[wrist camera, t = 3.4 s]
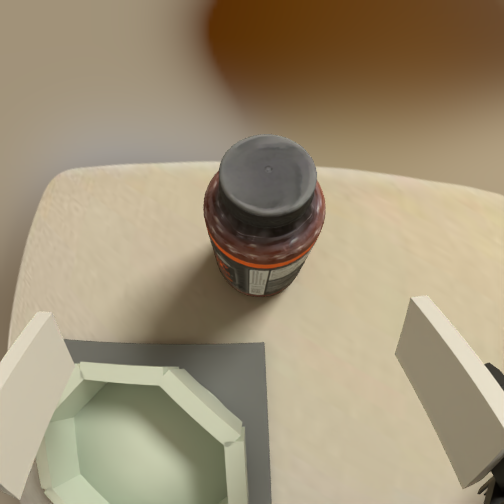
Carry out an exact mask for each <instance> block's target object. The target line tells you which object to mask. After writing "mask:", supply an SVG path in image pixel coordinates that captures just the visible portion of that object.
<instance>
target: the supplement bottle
mask: <svg viewBox="0 0 504 504" xmlns="http://www.w3.org/2000/svg"><path fill="white" fill-rule="evenodd" d="M204 218H205V222H206V227H207V230H208V234H209V237H210V240H211V244H212V246H213V250H214V253H215V257H216V260H217V264H218V266H219V269H220V271H221V273H222V275H223V276H224V278H225V279H226V281H227V282H228V283H229V284H230V285H231V286H232V287H233V288H235V289H236V290H238V291H239V292H241V293H244V294H246V295H250V296H256V297H265V296H271V295H274V294H276V293H278V292H280V291H282V290H284V289H285V288H287V287H288V286H289V285H290V284H291V283H292V281H293V280H294V279H295V278H296V276H297V275H298V273H299V271H300V269H301V268H302V266H303V264H304V262H305V260H306V259H307V257H308V255H309V253H310V252H311V250H312V248H313V246H314V244H315V242H316V240H317V238H318V236H319V234H320V232H321V229H322V227H323V223H324V219H325V199H324V195H323V191H322V189H321V187H320V184H319V183H318V181H317V172H316V167H315V165H314V161H313V159H312V158H311V157H310V156H309V154H308V153H307V151H306V150H305V149H304V148H303V147H302V146H300V145H299V144H297V143H296V142H294V141H291V140H290V139H287V138H285V137H281V136H277V135H271V134H264V135H256V136H252V137H248V138H245V139H243V140H241V141H239V142H237V143H236V144H234V145H233V146H232V147H231V148H230V149H229V150H228V151H227V152H226V153H225V155H224V156H223V159H222V161H221V163H220V168H219V171H218V172H217V173H216V174H215V175H214V177H213V178H212V180H211V181H210V183H209V185H208V188H207V190H206V193H205V197H204Z"/></svg>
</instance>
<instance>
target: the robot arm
mask: <svg viewBox="0 0 504 504" xmlns="http://www.w3.org/2000/svg"><path fill="white" fill-rule="evenodd" d="M395 355H396V357H397V359H398V361H399V363H400V364H401V366H402V368H403V370H404V372H405V373H406V375H407V377H408V379H409V381H410V383H411V384H412V386H413V388H414V390H415V392H416V394H417V396H418V398H419V399H420V401H421V403H422V405H423V407H424V409H425V411H426V413H427V415H428V417H429V419H430V421H431V423H432V425H433V427H434V429H435V431H436V433H437V435H438V437H439V439H440V441H441V443H442V445H443V447H444V449H445V451H446V454H447V456H448V458H449V460H450V462H451V464H452V466H453V469H454V471H455V473H456V475H457V477H458V480H459V482H460V484H461V487H462V489H464V488H467V487H469V486H471V485H473V484H475V483H477V482H479V481H480V480H482V479H483V478H484V477H485V476H486V475H487V474H488V473H489V472H490V471H491V472H492V474H493V477H492V478H490V479H489V480H488V481H487V482H486V483H485V484H484V485H483V486H482V487H481V488H480V489H479V491H478V493H477V494H481V493H482V492H483V491H484V490H486V489H487V488H488V489H487V491H486V492H485V494H484V495H486V497H485V501H484V504H504V375H503V374H502V372H501V371H500V370H499V369H497V368H496V367H494V366H493V365H492V364H490V363H486V364H483V362H482V361H481V360H480V358H479V357H478V356H477V354H476V353H475V352H474V351H473V349H472V348H471V347H470V346H469V344H468V343H467V342H466V341H465V339H464V338H463V337H462V336H461V334H460V333H459V332H458V331H457V329H456V328H455V327H454V326H453V325H452V323H451V322H450V321H449V320H448V319H447V317H446V316H445V315H444V314H443V313H442V312H441V310H440V309H439V308H438V307H437V306H436V305H435V303H434V302H433V301H432V300H431V299H430V298H429V297H428V295H425V296H417V297H411V298H410V302H409V306H408V310H407V314H406V317H405V321H404V325H403V328H402V332H401V335H400V339H399V342H398V345H397V349H396V352H395ZM74 368H75V364H74V362H73V360H72V358H71V355H70V353H69V351H68V349H67V346H66V344H65V342H64V339H63V337H62V335H61V332H60V330H59V327H58V325H57V322H56V320H55V317H54V315H53V312H40V311H38V312H37V313H36V314H35V315H34V317H33V318H32V319H31V321H30V322H29V323H28V325H27V326H26V327H25V329H24V330H23V331H22V333H21V334H20V335H19V337H18V338H17V339H16V341H15V342H14V344H13V345H12V346H11V348H10V349H9V351H8V352H7V353H6V355H5V356H4V358H3V359H2V361H1V362H0V490H1V491H2V492H4V493H5V494H8V495H10V496H12V497H14V498H17V499H19V500H20V499H21V496H22V493H23V490H24V487H25V484H26V481H27V478H28V476H29V473H30V470H31V467H32V465H33V462H34V459H35V457H36V454H37V452H38V449H39V446H40V444H41V442H42V439H43V437H44V434H45V432H46V429H47V427H48V425H49V422H50V420H51V418H52V415H53V413H54V411H55V409H56V406H57V404H58V402H59V400H60V398H61V395H62V393H63V391H64V389H65V387H66V385H67V383H68V380H69V378H70V376H71V374H72V372H73V370H74Z"/></svg>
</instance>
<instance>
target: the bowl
mask: <svg viewBox="0 0 504 504" xmlns="http://www.w3.org/2000/svg"><path fill="white" fill-rule="evenodd" d="M36 463H37V469H38V474H39V480H40V485H41V488H43V489H46V491H45V492H44V493H45V495H46V496H47V497H48V498H49V499H50V500H51V501H52V502H53V504H248V477H247V456H246V440H245V427H242V421H241V420H240V419H238V418H237V417H236V416H235V415H234V414H233V413H232V412H230V411H229V410H228V409H227V408H226V407H225V406H224V404H223V403H222V402H221V401H220V400H219V399H218V398H217V397H216V396H215V395H214V394H213V393H212V392H210V391H209V390H208V389H207V388H205V387H204V386H203V385H201V384H200V383H198V382H197V381H196V380H195V379H194V378H193V377H192V376H191V375H190V374H189V373H188V372H187V371H186V370H185V369H179V367H175V366H146V365H125V364H110V363H94V362H80V364H77V363H75V368H74V370H73V372H72V374H71V376H70V378H69V380H68V383H67V385H66V387H65V389H64V391H63V393H62V395H61V398H60V400H59V402H58V404H57V406H56V409H55V411H54V413H53V415H52V418H51V420H50V422H49V425H48V427H47V429H46V432H45V434H44V437H43V439H42V442H41V444H40V446H39V449H38V452H37V454H36Z"/></svg>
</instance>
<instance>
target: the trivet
mask: <svg viewBox="0 0 504 504" xmlns="http://www.w3.org/2000/svg"><path fill="white" fill-rule="evenodd" d="M64 342H65V344H66V346H67V349H68V351H69V353H70V355H71V358H72V360H73V362H74V364H75V363H77V364H80V362H94V363H110V364H125V365H146V366H175V367H179V369H185V370H186V371H187V372H188V373H189V374H190V375H191V376H192V377H193V378H194V379H195V380H196V381H197V382H198V383H200V384H201V385H203V386H204V387H205V388H207V389H208V390H209V391H210V392H212V393H213V394H214V395H215V396H216V397H217V398H218V399H219V400H220V401H221V402H222V403H223V404H224V406H225V407H226V408H227V409H228V410H229V411H230V412H232V413H233V414H234V415H235V416H236V417H237V418H238V419H240V420H241V421H242V427H245V440H246V456H247V477H248V504H272V501H271V477H270V453H269V431H268V409H267V387H266V367H265V346H264V342H261V343H237V344H136V343H112V342H95V341H80V340H67V339H64Z"/></svg>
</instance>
